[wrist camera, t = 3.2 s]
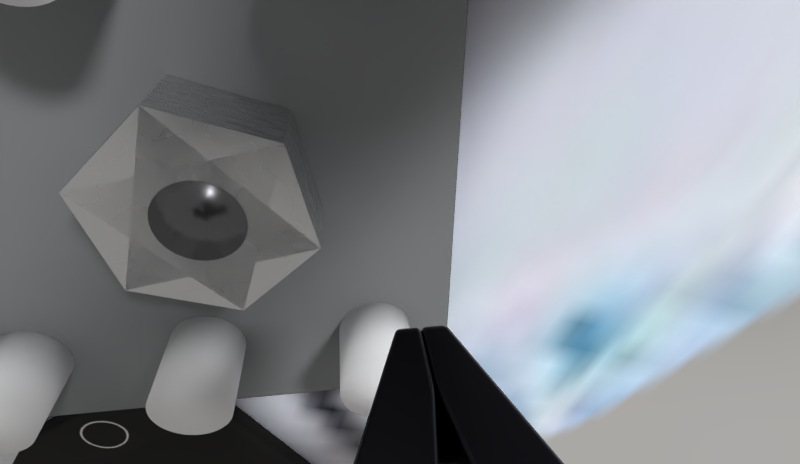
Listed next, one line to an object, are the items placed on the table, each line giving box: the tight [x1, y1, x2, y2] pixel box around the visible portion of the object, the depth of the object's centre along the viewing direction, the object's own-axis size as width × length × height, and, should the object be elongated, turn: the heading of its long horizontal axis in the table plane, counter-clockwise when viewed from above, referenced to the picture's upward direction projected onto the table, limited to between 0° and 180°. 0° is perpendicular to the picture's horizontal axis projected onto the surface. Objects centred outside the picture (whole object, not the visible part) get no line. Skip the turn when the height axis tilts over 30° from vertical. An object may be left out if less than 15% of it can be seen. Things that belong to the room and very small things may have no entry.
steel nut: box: [59, 74, 322, 310], centre depth 12 cm, size 5×6×2 cm
